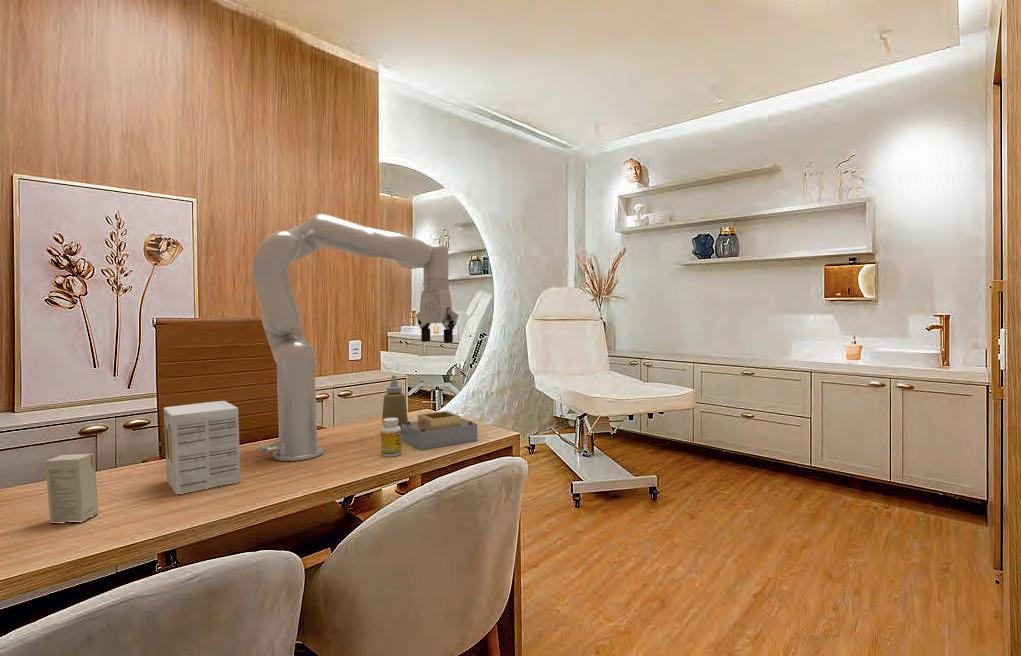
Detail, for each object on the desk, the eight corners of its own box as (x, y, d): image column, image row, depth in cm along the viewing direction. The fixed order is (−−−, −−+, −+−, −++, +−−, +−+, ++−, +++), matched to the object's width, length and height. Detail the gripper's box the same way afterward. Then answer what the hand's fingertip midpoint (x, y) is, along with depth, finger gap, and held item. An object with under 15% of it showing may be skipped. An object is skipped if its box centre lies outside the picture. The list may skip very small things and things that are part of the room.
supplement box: (165, 481, 124) (162, 406, 124) (228, 469, 133) (225, 399, 132) (174, 496, 114) (171, 415, 113) (241, 483, 123) (239, 407, 122)
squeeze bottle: (379, 430, 172) (378, 375, 171) (404, 428, 176) (403, 373, 175) (385, 436, 165) (383, 378, 164) (410, 433, 168) (409, 376, 168)
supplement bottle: (385, 451, 148) (384, 416, 147) (404, 451, 147) (403, 417, 147) (378, 456, 142) (377, 421, 142) (398, 457, 142) (397, 421, 141)
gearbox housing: (420, 450, 148) (420, 423, 148) (401, 440, 160) (401, 415, 160) (477, 440, 158) (477, 415, 158) (456, 431, 170) (455, 408, 169)
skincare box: (99, 514, 105) (96, 452, 104) (82, 523, 100) (79, 459, 100) (66, 515, 104) (62, 453, 104) (47, 524, 100) (44, 459, 100)
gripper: (407, 286, 165) (408, 341, 166) (447, 284, 154) (448, 343, 155) (425, 286, 171) (426, 340, 171) (465, 285, 160) (466, 342, 161)
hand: (436, 342), depth 163 cm, fingers open, 9 cm apart
